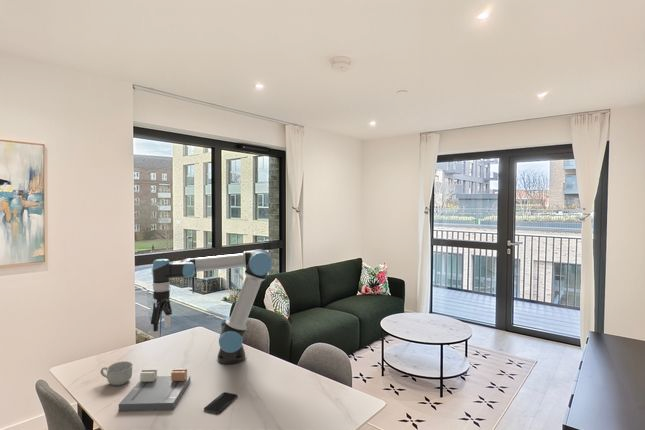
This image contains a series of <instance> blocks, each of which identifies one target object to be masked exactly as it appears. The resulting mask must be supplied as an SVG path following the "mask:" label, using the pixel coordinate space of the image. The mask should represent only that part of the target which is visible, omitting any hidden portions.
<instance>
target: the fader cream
mask: <svg viewBox="0 0 645 430" xmlns="http://www.w3.org/2000/svg"><path fill="white" fill-rule="evenodd" d="M139 374H140V376H139V378H140V379H139V381H140V382H146V381H154V380H155V379H156V378H157V376H158V369H157V368H149V369H148V368H144V369H142V370H141V372H140V373H139Z"/></svg>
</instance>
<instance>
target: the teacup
mask: <svg viewBox="0 0 645 430" xmlns="http://www.w3.org/2000/svg"><path fill="white" fill-rule="evenodd" d="M104 370H105V371H106V373H105V371H104ZM100 375H101V376H102V377H104V378H106V380H107V383H109V384H110V385H113V386H116V387H118V386H122V385H124V384H126V383H127V382H128V381H130V380H131V378H132V376H133V363H132V362H131V361H127V360H126V361H118V362H115V363H113V364H110V365H109V366H103V367H102V368H101V369H100Z"/></svg>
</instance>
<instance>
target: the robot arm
mask: <svg viewBox="0 0 645 430" xmlns="http://www.w3.org/2000/svg"><path fill="white" fill-rule="evenodd" d="M272 266H273V259H272V257H271V255H270V254H269V252H268V251H267V250H265V249H262V248H261V249H258V248H257V249H253V250H246V251H245V250H244V251H243V252H242V253H234V254H224V255H222V254H221V255H216V256H215V255H213V256H205V257H194V258H190V257H187V258H183V259H181V260H180V261H179V262H173V263H172V262H170V259H168V258H159V259H154V260H153V262H152V282H153V283H152V290H153V292H152V294H153V295H152V296H153V297H152V298H153V299H154V300H156V302H154V303H153V307H152V308H153V309H152V315H151V320H150V325H152V328H153V329H152V333H153V335H152V337H153V338H160V337H161V335H160V332H161V331H160V323H159V322H160V319H161V316H162V315H161V314H162V312H163V313H164V315H163V321H164V324H163V325H164V328H165V329H167V328H171V315H172V314H173V310H172V306H171V302H170V294H171V293H170V291H171V290H170V288H171V287H170V279H179V278H180V279H181V278H186V279H187V278H192V277H194V276H195V273H197V272H205V271H206V272H207V271H216V270H218V271H219V270H226V269H235V268H244V269H245V271H244V274H245V278H244V280H243V283H242V287H241V288H240V292H239V294H238V297H237V299H236V302H235V305H234V306H233V310H232V311H231V315H230V316H228V317H223V318H221V320H220V334H219V339H218V345H219V347H220V348H219V350H218V353H217V362H218V363H220V364H223V365H235V364H238V363H239V364H240V363H241V362H243V361H244V360H245V359H246V351H245V349H244V345H243V343H244V342H243V341H244V340H243V339H244V337H245V334H246V331H247V329H248V327H247V325H246V323H247V321H248V319H249V315H250V313H251V310H252V308H253V305H254V302H255V299H256V297H257V295H258V292H259V289H260V287H261V284H262V282H263V281H265V280H266V279H267V277H268V274H269V272H270V271H271V269H272V268H273V267H272Z"/></svg>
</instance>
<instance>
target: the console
mask: <svg viewBox="0 0 645 430" xmlns="http://www.w3.org/2000/svg"><path fill="white" fill-rule="evenodd" d="M190 383H191V375H187V378H186V379H185V381H171V375H164V376H163V375H161V376H160V375H157V378H156V379H155V380H154V381H146V382H140V380H139V381H138V382H137V383H136V384H135V386H133V387H132V389H131V390H130V391H129V392H128V393H127V394H126V395H125V397H124V398H123V399H121V401H120V402H119V403H118V412H137V411H138V412H141V411H142V412H143V411H146V412H147V411H173V410H174V409H175V408H176V406H177V405H178V403H179V401H180V399H181V398H182V396H183V394H184V393H185V391H186V390H187V388H188V387H189V385H190Z"/></svg>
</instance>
